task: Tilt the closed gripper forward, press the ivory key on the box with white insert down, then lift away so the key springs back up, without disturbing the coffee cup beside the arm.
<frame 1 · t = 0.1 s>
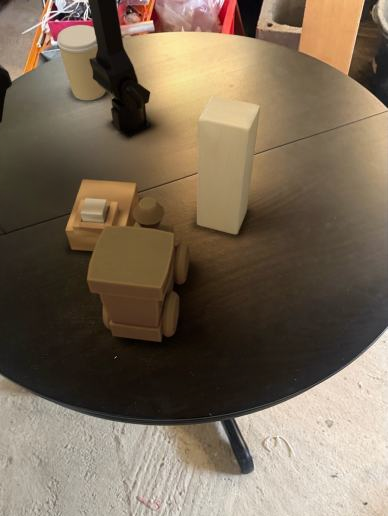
coffee cup: (89, 91, 110), on the table
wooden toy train: (150, 301, 78), on the table
tall cream block: (223, 218, 88), on the table
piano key: (94, 210, 79), point 7 cm above the table, slide at 0.1 cm
box with white insert: (106, 225, 87), on the table
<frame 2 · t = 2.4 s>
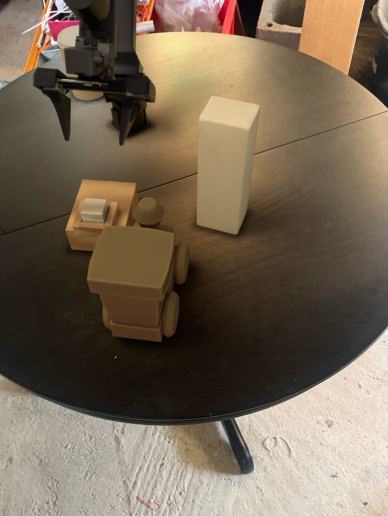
hand: (93, 143, 78), 13 cm above the table, tool tilted 45°, fingers open, 9 cm apart
nothing on the table moved.
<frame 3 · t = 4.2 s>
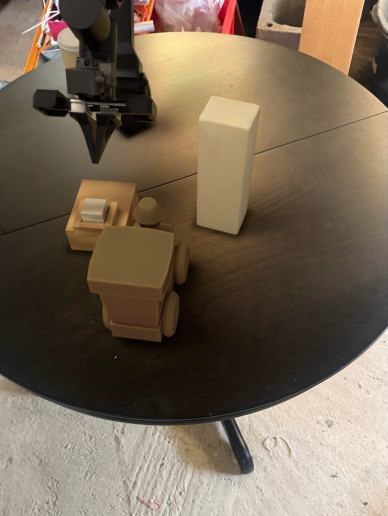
hand: (95, 163, 77), 13 cm above the table, tool tilted 45°, fingers closed
nothing on the table moved.
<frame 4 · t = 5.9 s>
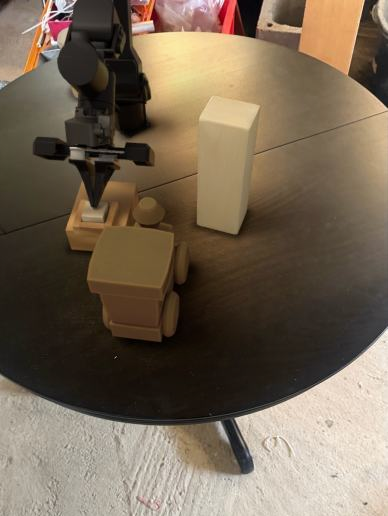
hand: (94, 207, 79), 8 cm above the table, tool tilted 45°, fingers closed, pressing on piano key
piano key: (95, 213, 80), point 6 cm above the table, slide at -0.5 cm, touching gripper
everything else where it was.
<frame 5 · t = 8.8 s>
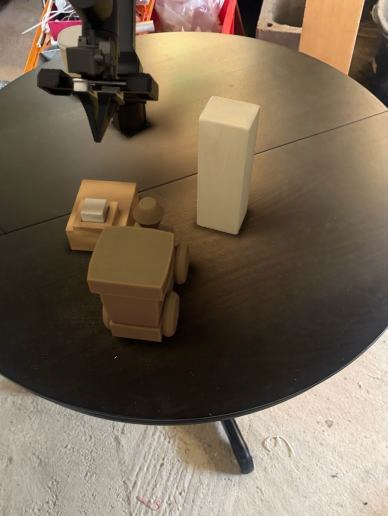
hand: (97, 142, 79), 13 cm above the table, tool tilted 45°, fingers closed
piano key: (94, 210, 79), point 7 cm above the table, slide at 0.1 cm
everything else where it was.
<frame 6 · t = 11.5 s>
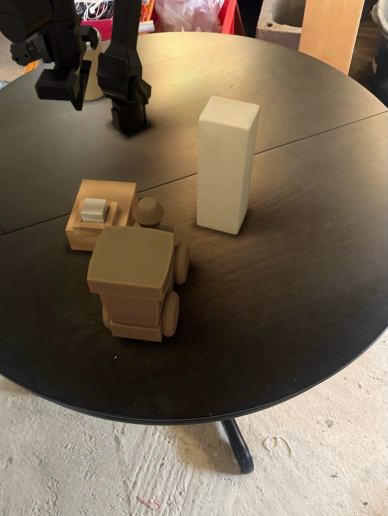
hand: (79, 109, 86), 12 cm above the table, tool pointing down, fingers closed
nothing on the table moved.
at the end: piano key pushed in 1.3 cm at the most during the clip, back to where it started at the end; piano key slide at 0.1 cm; coffee cup moved 0.2 cm from its start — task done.
